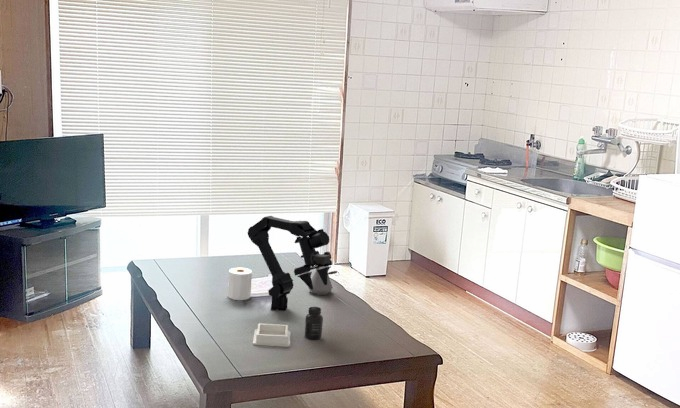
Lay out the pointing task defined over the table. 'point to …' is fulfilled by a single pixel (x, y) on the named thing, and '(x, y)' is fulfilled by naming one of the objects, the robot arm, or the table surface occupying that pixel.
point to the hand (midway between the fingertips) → (319, 287)
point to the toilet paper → (239, 283)
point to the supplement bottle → (313, 324)
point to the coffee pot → (321, 284)
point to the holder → (272, 335)
